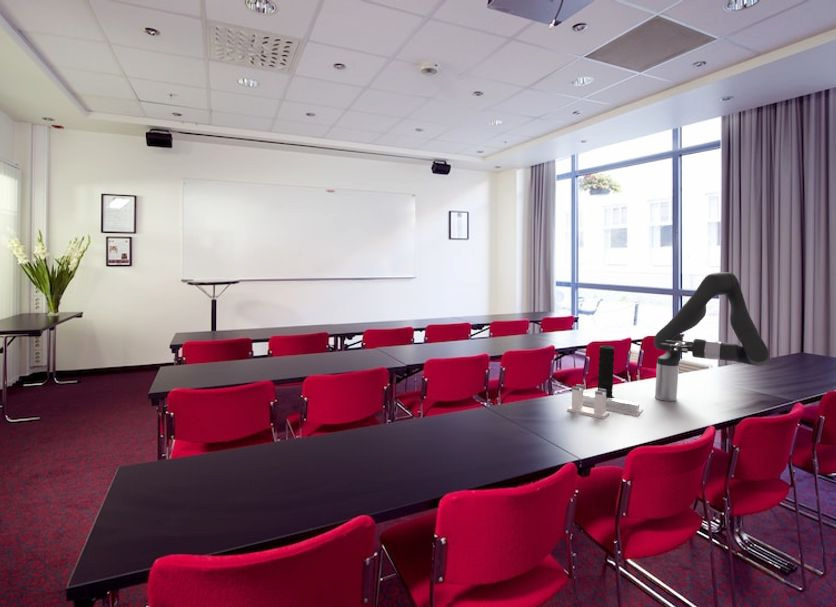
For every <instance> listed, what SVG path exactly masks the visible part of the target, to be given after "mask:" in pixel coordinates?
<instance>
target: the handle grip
mask: <svg viewBox="0 0 836 607" xmlns="http://www.w3.org/2000/svg"><path fill="white" fill-rule="evenodd" d="M598 354H599V355H598V356H599V357H598V377H597V390H596V391H599V388H601V389H606V397H608V398H613V399H616V398H615V396H613V389H614V387H613V386H614V384H613V383H614V369H615V368H614V367H615V366H614V365H615V347H614V346H611V345H608V344H607V345H600V346H599V351H598Z"/></svg>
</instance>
